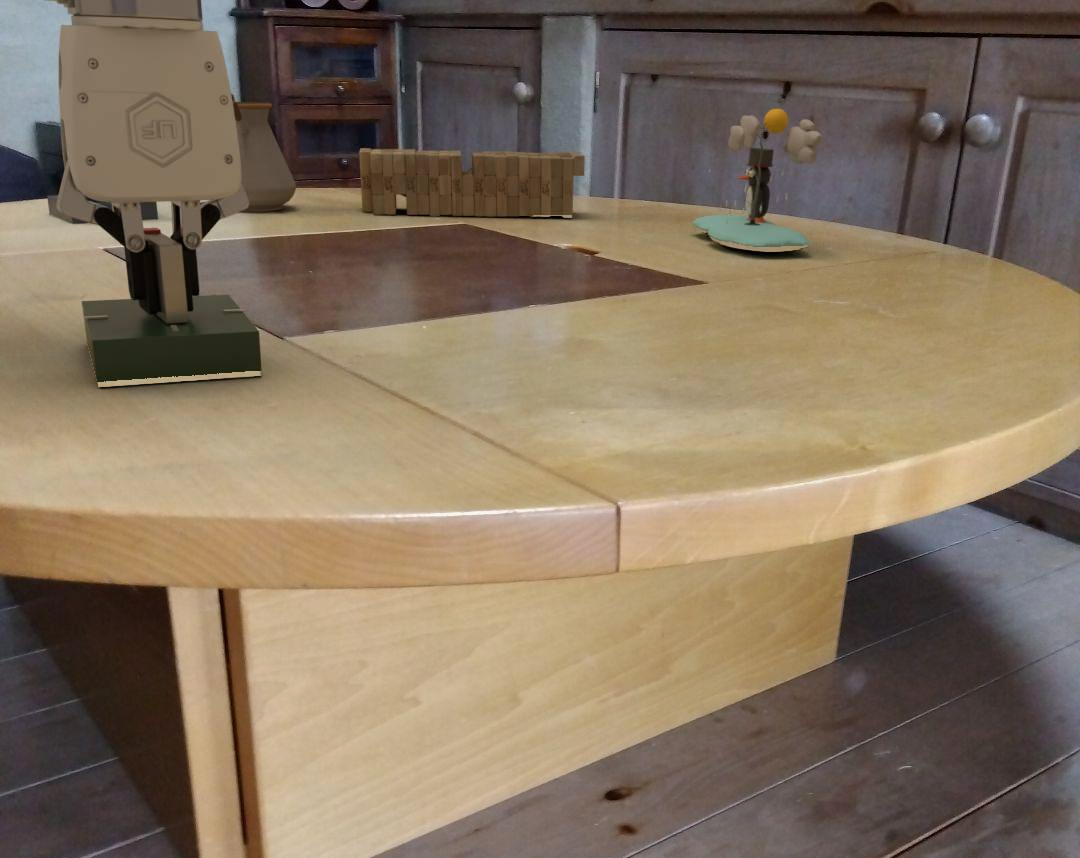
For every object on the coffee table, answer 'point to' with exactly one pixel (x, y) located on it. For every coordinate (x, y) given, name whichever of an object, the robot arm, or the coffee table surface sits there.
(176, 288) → the upright beige tablet
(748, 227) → the penguin figurine
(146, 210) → the button block
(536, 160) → the block tower
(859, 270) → the coffee table surface
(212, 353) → the block
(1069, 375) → the coffee table surface
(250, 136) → the coffee pot
